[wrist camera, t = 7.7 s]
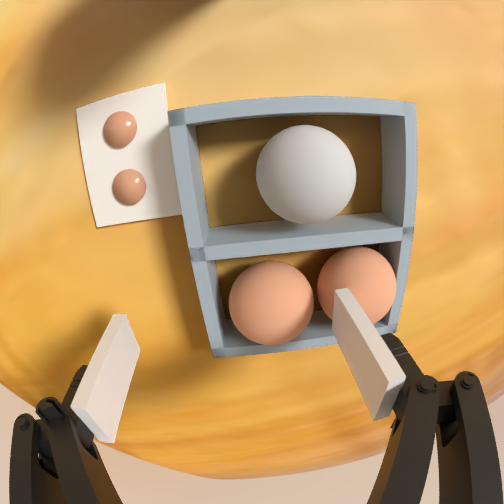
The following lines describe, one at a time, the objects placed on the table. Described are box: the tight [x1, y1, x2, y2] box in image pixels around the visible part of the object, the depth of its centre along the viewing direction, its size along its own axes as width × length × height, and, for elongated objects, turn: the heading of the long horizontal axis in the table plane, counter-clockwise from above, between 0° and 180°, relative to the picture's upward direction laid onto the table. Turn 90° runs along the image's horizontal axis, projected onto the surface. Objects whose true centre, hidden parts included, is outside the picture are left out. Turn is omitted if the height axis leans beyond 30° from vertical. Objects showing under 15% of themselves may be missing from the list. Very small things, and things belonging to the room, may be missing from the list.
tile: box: [76, 83, 182, 227], centre depth 15 cm, size 6×8×1 cm
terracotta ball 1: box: [229, 261, 314, 345], centre depth 17 cm, size 5×5×5 cm
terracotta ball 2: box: [317, 246, 396, 324], centre depth 17 cm, size 5×5×5 cm
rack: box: [167, 96, 418, 357], centre depth 16 cm, size 13×15×3 cm
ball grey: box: [256, 125, 356, 224], centre depth 14 cm, size 5×5×5 cm
